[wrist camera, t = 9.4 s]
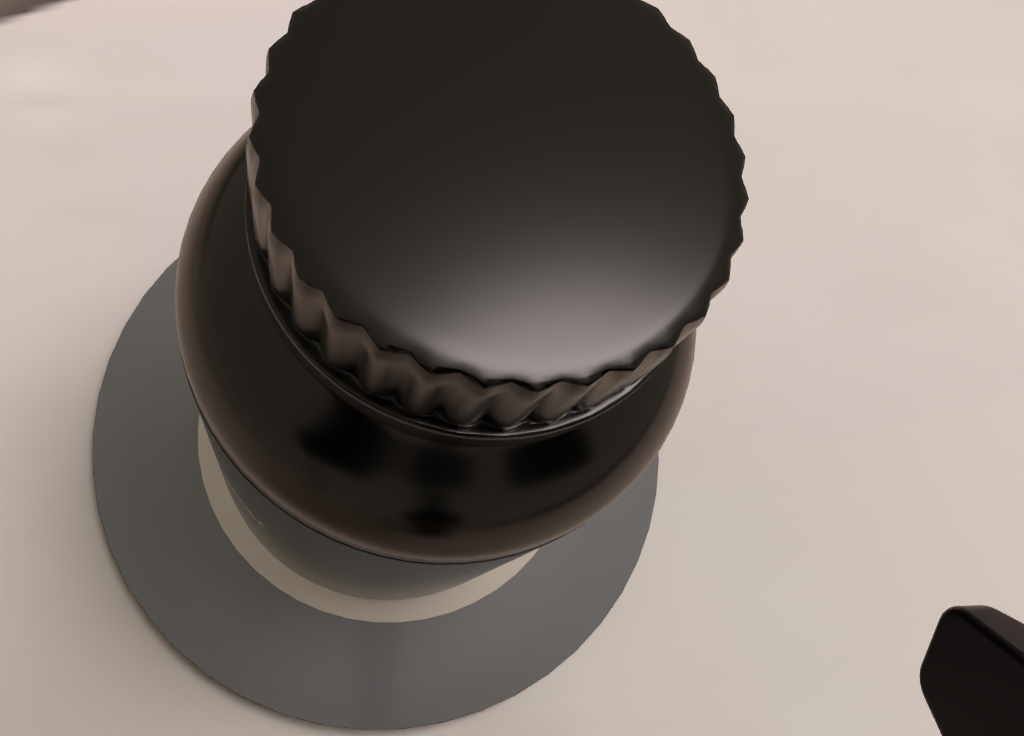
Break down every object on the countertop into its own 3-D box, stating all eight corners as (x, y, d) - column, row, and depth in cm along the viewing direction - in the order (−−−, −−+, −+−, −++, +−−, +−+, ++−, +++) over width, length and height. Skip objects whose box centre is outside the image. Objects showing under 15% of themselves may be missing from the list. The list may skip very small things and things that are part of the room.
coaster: (705, 661, 20) (718, 660, 20) (121, 792, 17) (114, 797, 16) (587, 177, 24) (595, 163, 23) (80, 214, 20) (72, 198, 20)
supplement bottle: (149, 485, 18) (-86, 184, 7) (347, 237, 21) (402, -268, 10) (439, 676, 18) (654, 669, 7) (601, 404, 21) (943, 92, 10)
